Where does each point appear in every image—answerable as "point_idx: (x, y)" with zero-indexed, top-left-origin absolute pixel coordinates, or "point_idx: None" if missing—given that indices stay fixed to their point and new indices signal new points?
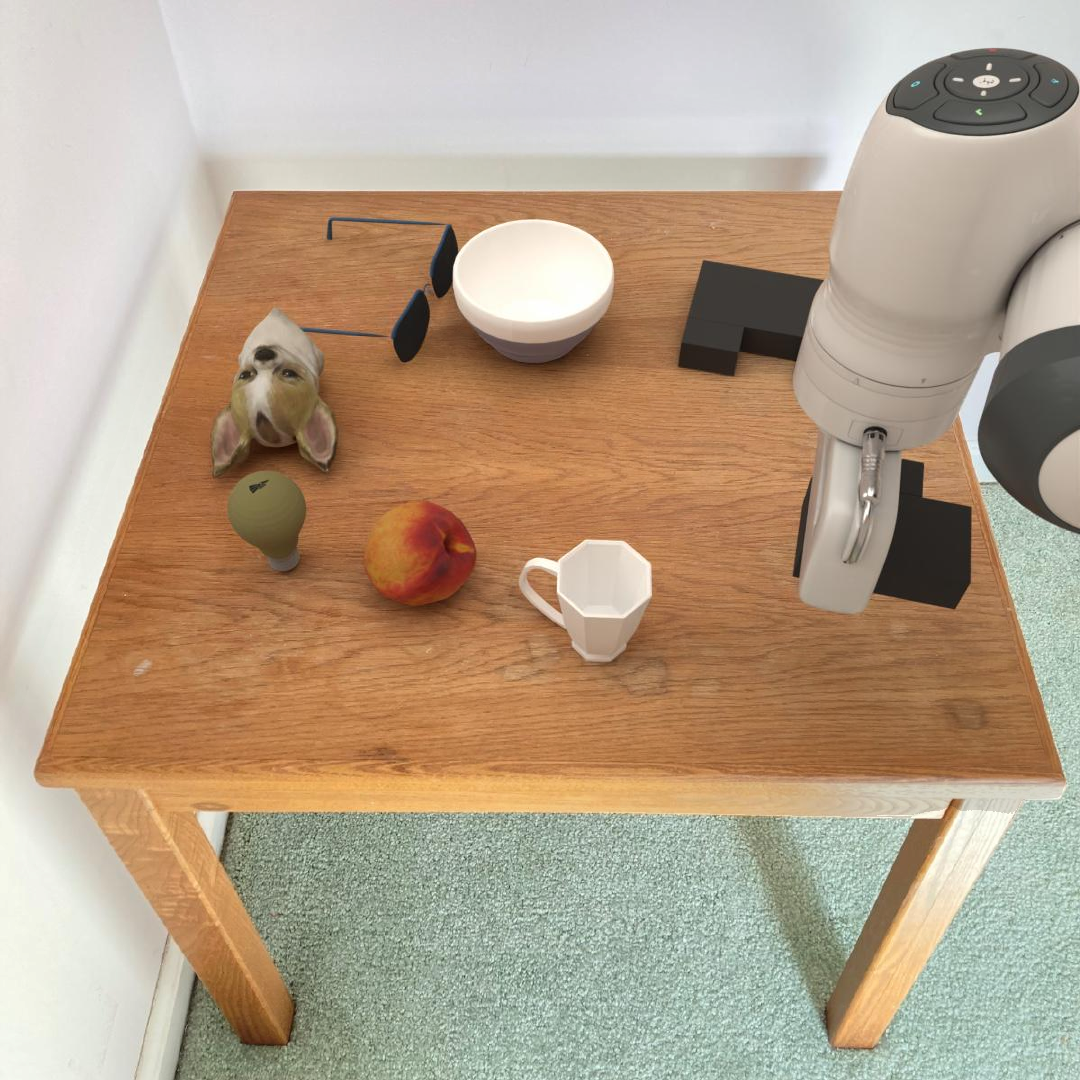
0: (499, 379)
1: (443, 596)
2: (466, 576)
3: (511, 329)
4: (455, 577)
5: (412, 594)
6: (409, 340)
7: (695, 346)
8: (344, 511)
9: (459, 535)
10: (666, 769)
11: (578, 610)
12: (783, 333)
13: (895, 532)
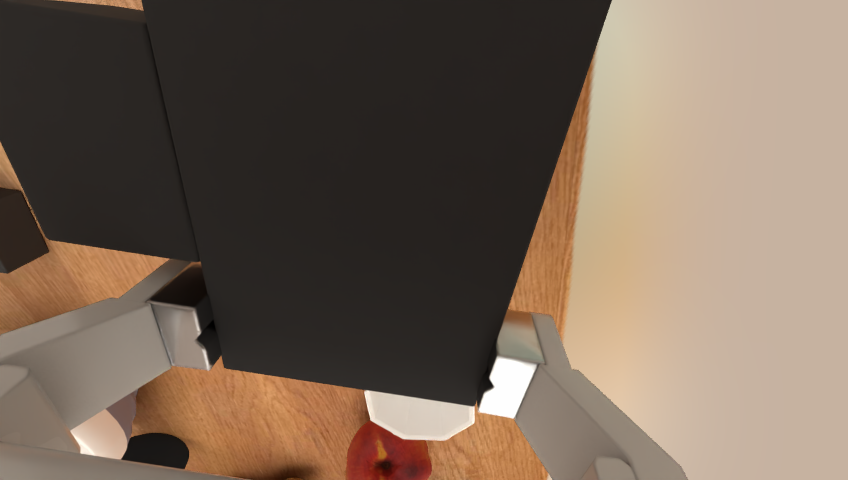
0: (166, 388)
1: None
2: None
3: (110, 448)
4: (408, 447)
5: (430, 468)
6: (165, 458)
7: (2, 256)
8: (341, 459)
9: (371, 459)
10: (570, 264)
11: (466, 427)
12: None
13: (377, 169)
